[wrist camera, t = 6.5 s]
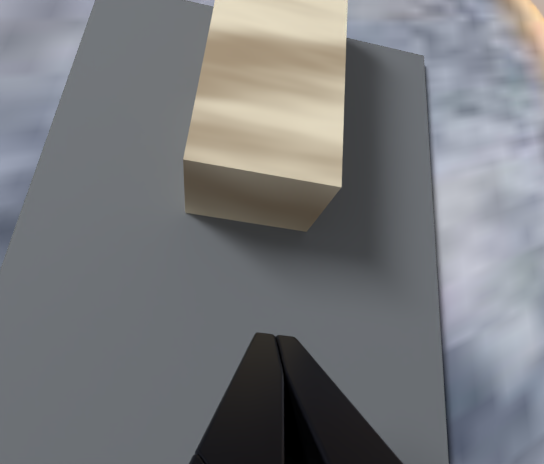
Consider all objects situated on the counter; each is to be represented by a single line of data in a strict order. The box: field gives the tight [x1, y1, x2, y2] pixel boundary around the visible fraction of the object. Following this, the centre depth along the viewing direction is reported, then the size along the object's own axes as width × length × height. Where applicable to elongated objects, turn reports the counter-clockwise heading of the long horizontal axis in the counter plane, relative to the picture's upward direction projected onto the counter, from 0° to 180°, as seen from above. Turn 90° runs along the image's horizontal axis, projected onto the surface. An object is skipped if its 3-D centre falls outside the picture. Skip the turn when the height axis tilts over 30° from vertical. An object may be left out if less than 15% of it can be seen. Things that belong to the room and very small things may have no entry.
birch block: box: [183, 0, 348, 232], centre depth 20 cm, size 5×6×14 cm
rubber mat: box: [0, 0, 449, 464], centre depth 20 cm, size 26×20×1 cm
